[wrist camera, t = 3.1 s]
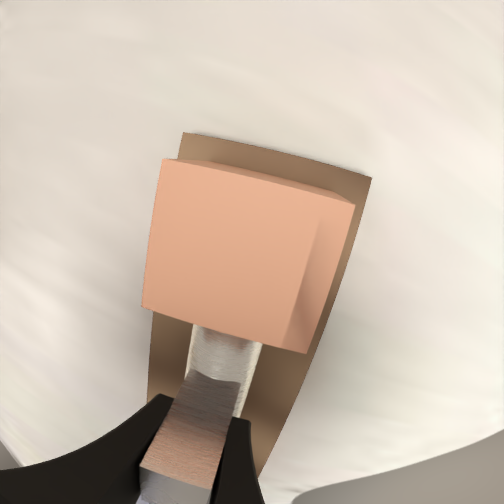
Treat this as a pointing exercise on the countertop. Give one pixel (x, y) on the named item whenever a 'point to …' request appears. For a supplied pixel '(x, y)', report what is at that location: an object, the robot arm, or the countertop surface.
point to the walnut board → (271, 358)
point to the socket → (243, 251)
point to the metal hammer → (199, 419)
